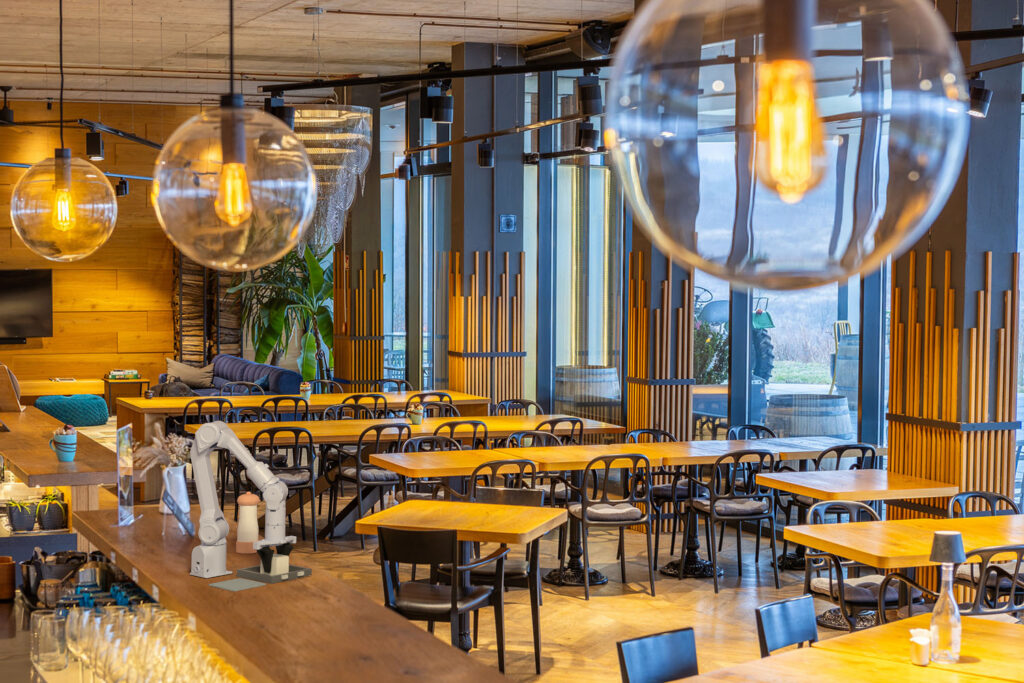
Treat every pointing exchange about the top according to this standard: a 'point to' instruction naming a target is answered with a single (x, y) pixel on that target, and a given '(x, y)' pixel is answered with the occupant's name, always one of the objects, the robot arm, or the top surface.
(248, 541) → the salt shaker
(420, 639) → the top surface
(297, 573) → the frame
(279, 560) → the block
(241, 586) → the slate mat
